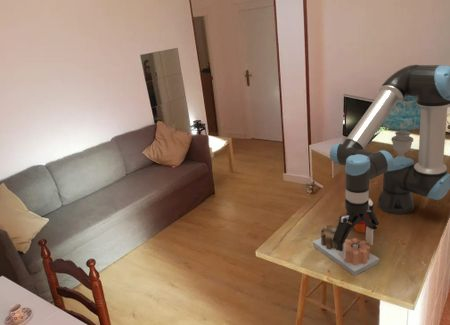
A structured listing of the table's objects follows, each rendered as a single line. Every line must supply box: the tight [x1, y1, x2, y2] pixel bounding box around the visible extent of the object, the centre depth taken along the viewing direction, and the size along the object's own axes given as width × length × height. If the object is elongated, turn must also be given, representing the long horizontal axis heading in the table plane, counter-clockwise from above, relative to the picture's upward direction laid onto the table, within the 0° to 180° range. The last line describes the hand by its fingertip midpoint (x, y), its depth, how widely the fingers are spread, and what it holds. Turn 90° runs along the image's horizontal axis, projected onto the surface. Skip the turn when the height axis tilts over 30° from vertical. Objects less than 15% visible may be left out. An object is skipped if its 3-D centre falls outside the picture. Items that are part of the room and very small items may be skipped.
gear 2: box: [344, 237, 371, 266], centre depth 126 cm, size 10×10×5 cm
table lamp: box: [380, 96, 421, 158], centre depth 190 cm, size 24×24×40 cm
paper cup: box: [354, 197, 374, 233], centre depth 143 cm, size 8×8×14 cm
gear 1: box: [320, 225, 348, 250], centre depth 135 cm, size 10×10×6 cm
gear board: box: [312, 237, 380, 277], centre depth 131 cm, size 12×22×7 cm, turn 27°
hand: (355, 249), depth 126 cm, fingers open, 13 cm apart
